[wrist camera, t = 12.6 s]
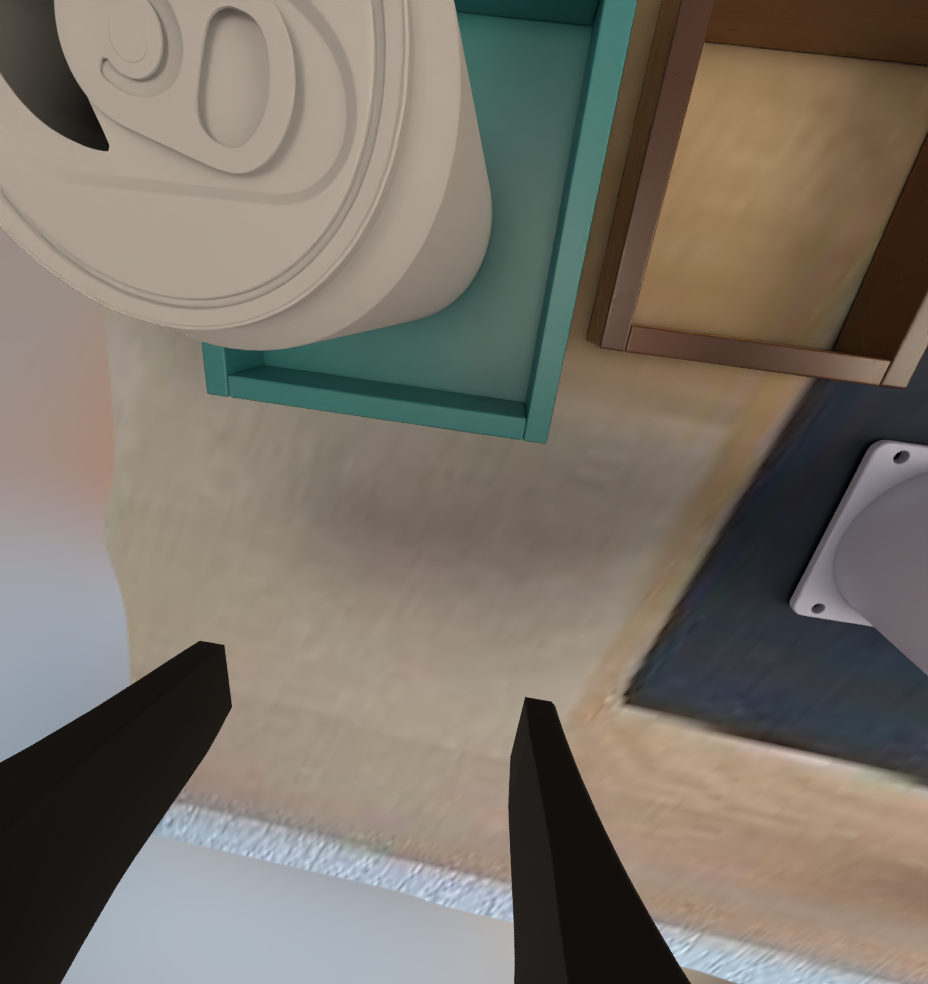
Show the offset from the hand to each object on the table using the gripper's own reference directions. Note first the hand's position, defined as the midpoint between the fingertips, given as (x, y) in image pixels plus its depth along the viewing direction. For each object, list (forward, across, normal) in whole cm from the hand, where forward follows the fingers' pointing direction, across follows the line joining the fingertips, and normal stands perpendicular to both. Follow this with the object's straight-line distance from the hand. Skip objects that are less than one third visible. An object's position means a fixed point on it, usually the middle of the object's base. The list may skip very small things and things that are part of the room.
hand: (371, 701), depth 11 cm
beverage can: (+10, +2, -11) cm, 15 cm away
